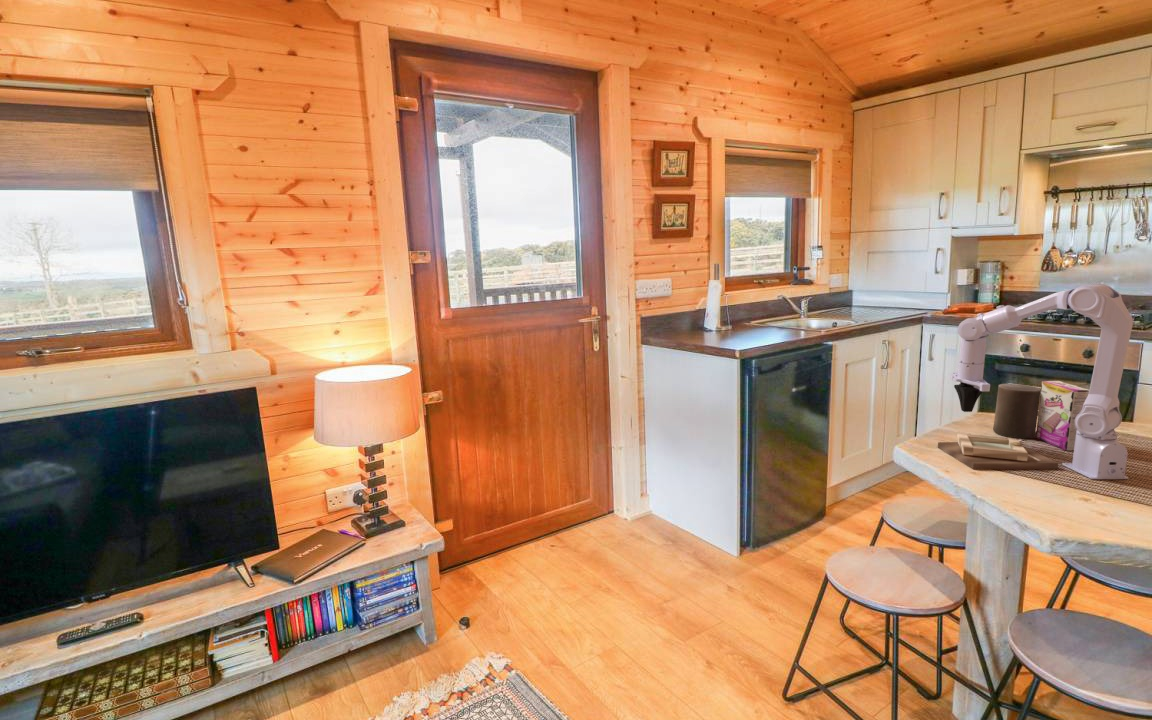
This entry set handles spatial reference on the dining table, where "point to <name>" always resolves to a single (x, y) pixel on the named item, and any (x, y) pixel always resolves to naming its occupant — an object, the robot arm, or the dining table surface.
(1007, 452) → the cabinet door with knob
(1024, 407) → the pillar candle
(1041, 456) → the walnut board
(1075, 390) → the candy bar box
